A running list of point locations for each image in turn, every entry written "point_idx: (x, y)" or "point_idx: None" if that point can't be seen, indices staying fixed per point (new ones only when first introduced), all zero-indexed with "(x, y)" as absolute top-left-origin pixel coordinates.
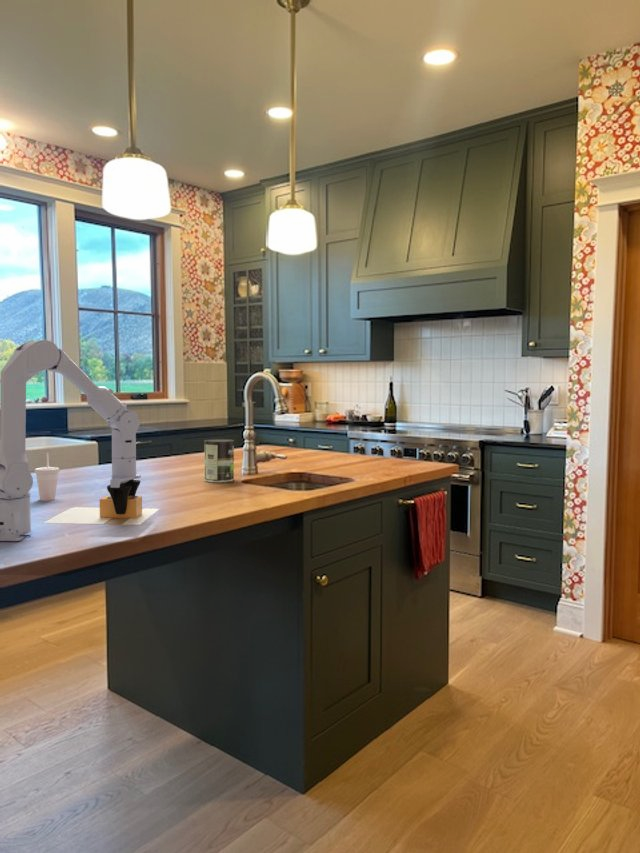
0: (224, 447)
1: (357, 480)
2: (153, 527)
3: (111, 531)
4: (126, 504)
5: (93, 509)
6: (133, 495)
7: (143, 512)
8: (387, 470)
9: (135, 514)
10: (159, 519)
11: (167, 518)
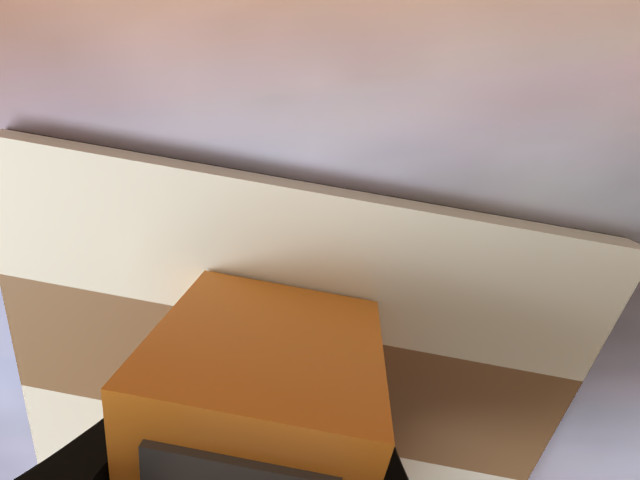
0: None
1: None
2: (608, 125)
3: (627, 408)
4: (387, 476)
5: None
6: (96, 477)
7: (149, 262)
8: None
9: (377, 324)
10: (277, 101)
11: (234, 19)
